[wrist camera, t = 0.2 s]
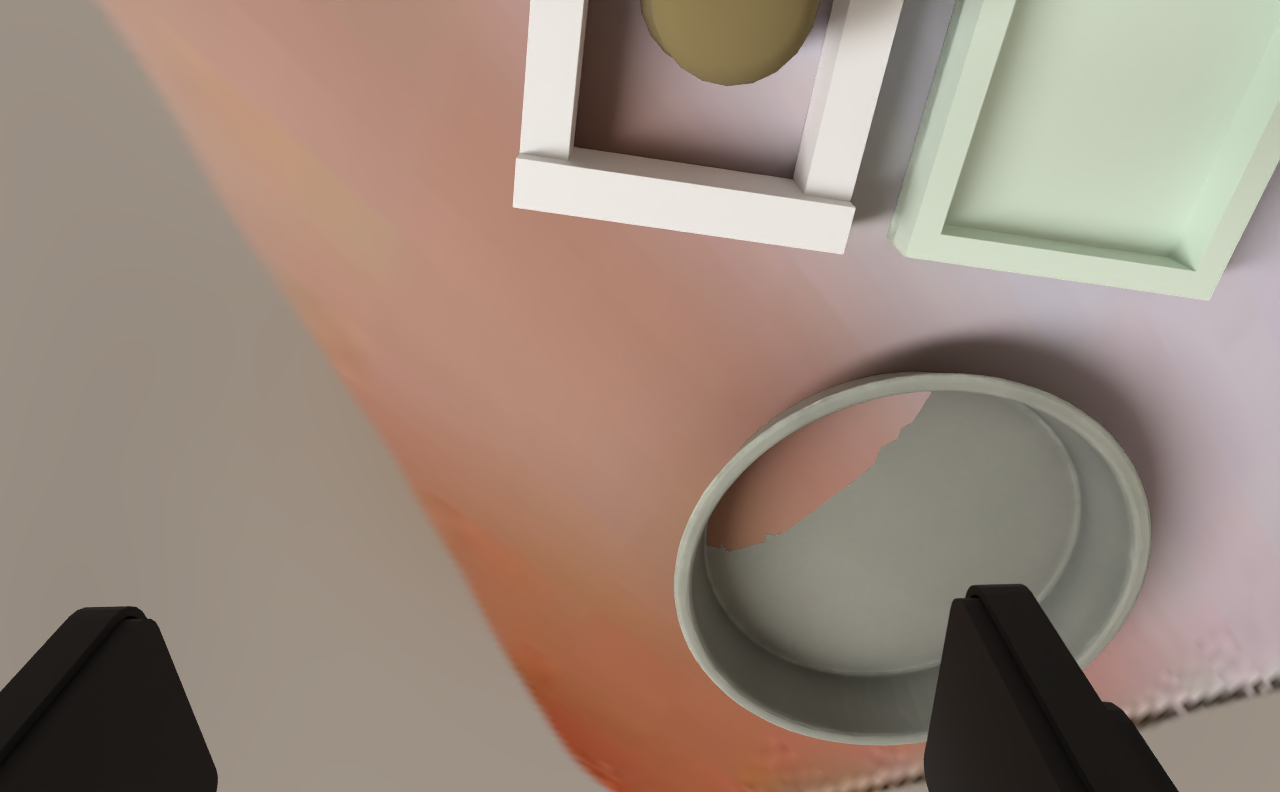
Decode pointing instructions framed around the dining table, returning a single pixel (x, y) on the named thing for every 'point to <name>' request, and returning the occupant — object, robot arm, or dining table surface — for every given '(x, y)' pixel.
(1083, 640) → the cake pan
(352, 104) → the dining table surface
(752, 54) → the cork
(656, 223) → the dock
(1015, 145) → the tray
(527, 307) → the dining table surface
